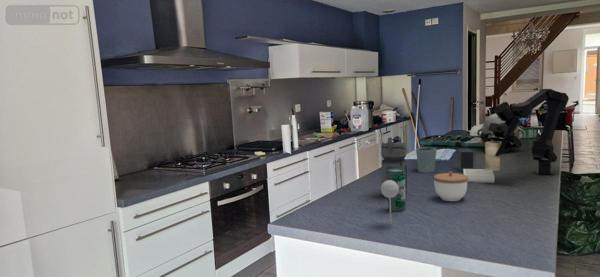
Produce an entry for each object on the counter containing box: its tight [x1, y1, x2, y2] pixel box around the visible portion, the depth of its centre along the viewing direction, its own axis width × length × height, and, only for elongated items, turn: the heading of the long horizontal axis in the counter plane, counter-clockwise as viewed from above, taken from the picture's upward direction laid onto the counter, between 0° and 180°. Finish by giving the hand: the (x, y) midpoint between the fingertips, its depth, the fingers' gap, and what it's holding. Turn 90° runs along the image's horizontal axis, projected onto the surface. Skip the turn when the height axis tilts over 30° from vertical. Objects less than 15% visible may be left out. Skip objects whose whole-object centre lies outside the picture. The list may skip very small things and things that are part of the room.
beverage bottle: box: [380, 135, 408, 196], centre depth 174 cm, size 10×13×25 cm
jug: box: [476, 102, 525, 146], centre depth 259 cm, size 24×21×30 cm
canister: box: [484, 142, 501, 172], centre depth 184 cm, size 6×6×12 cm
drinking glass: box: [415, 146, 437, 174], centre depth 216 cm, size 10×10×12 cm
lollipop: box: [380, 180, 399, 225], centre depth 139 cm, size 6×6×15 cm
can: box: [387, 168, 407, 212], centre depth 155 cm, size 6×6×15 cm
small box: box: [457, 148, 474, 173], centre depth 214 cm, size 11×6×10 cm, turn 168°
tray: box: [462, 168, 495, 184], centre depth 193 cm, size 13×13×4 cm
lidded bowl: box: [433, 170, 468, 202], centre depth 164 cm, size 13×13×11 cm
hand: (490, 154), depth 183 cm, fingers closed on canister, 6 cm apart
